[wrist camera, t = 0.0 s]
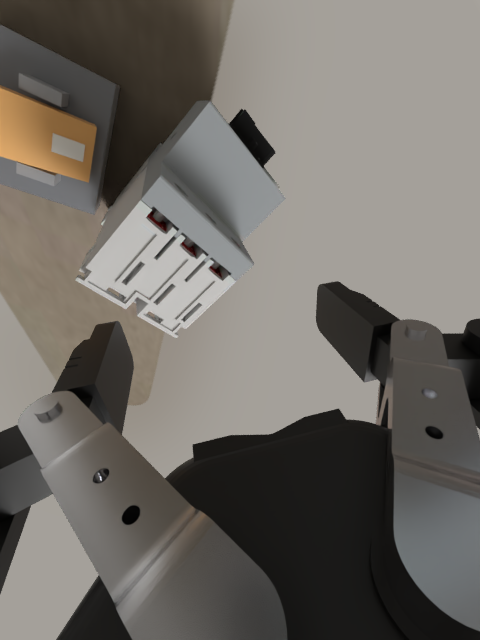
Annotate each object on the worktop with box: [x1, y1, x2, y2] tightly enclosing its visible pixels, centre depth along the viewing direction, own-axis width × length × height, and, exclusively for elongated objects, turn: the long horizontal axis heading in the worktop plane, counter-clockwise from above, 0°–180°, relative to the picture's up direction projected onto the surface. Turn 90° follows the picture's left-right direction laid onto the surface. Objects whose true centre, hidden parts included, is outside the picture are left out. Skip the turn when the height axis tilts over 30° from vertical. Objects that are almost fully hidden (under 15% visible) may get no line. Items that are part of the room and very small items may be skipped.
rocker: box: [0, 85, 97, 183], centre depth 20 cm, size 4×7×2 cm, turn 66°
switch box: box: [0, 24, 120, 215], centre depth 22 cm, size 10×8×5 cm
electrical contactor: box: [76, 101, 285, 338], centre depth 23 cm, size 8×14×15 cm, turn 133°
